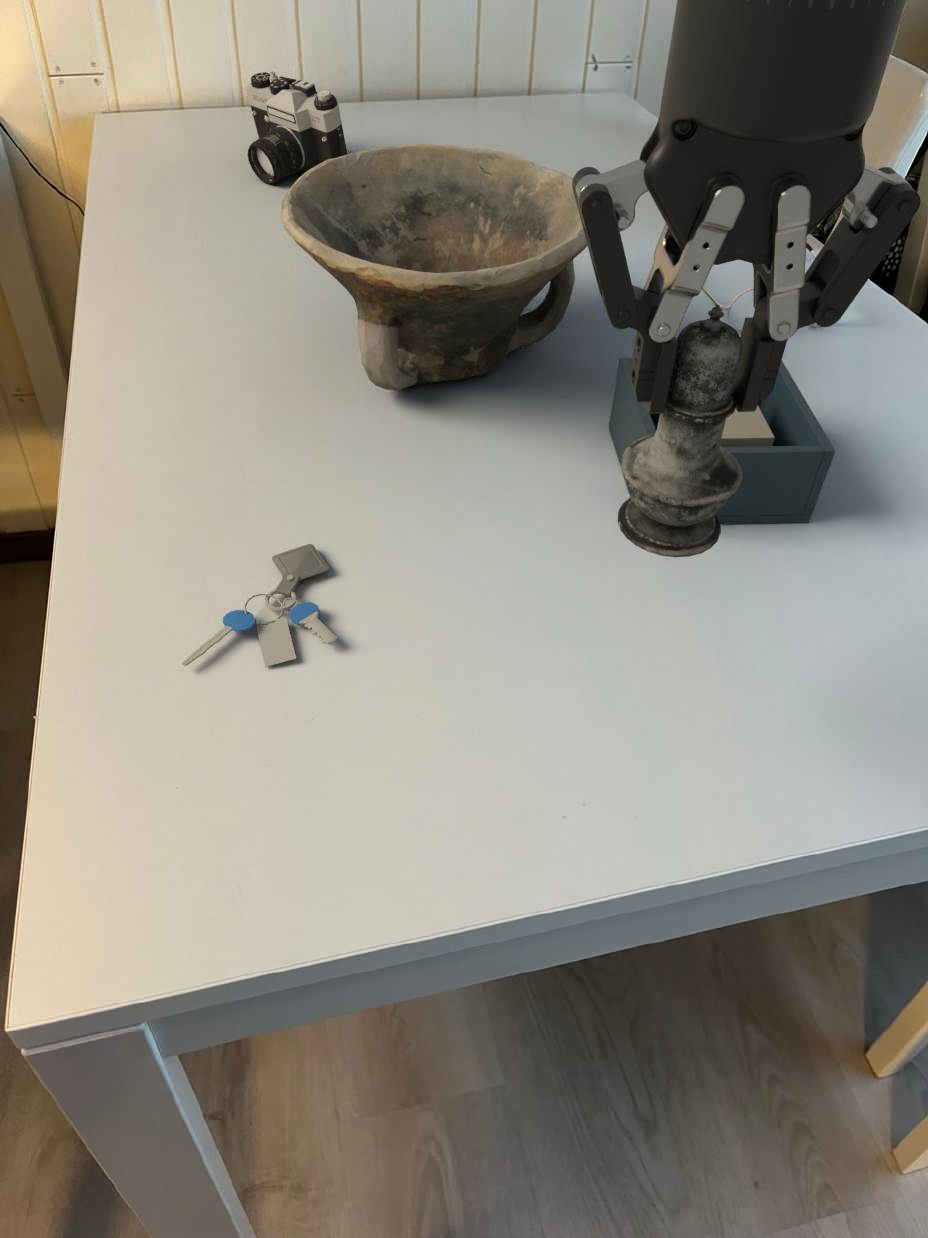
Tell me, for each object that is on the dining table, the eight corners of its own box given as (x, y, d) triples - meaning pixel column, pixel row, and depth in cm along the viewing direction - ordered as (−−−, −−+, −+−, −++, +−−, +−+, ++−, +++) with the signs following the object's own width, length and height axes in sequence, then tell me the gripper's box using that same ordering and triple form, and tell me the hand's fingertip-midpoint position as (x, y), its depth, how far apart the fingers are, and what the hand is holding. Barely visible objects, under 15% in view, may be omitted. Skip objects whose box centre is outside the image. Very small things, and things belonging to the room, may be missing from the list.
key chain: (289, 541, 71) (288, 532, 70) (389, 572, 69) (389, 564, 68) (181, 668, 62) (178, 660, 61) (292, 709, 60) (291, 700, 59)
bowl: (442, 475, 78) (446, 302, 67) (238, 355, 90) (214, 192, 79) (633, 357, 92) (662, 199, 82) (435, 267, 104) (437, 119, 94)
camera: (225, 175, 124) (201, 95, 116) (285, 138, 128) (266, 59, 120) (302, 207, 117) (282, 125, 109) (362, 167, 122) (348, 86, 114)
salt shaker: (607, 486, 51) (642, 271, 43) (717, 490, 51) (773, 275, 43) (616, 559, 47) (656, 336, 39) (735, 563, 47) (802, 342, 39)
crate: (759, 425, 84) (779, 355, 80) (809, 523, 75) (836, 451, 70) (607, 426, 83) (619, 357, 79) (639, 526, 74) (654, 453, 69)
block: (735, 439, 81) (749, 388, 78) (758, 489, 76) (775, 437, 73) (654, 440, 81) (665, 388, 77) (673, 491, 76) (685, 438, 72)
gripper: (608, -17, 29) (555, 454, 41) (1056, -12, 30) (874, 447, 42) (571, -68, 34) (534, 363, 46) (953, -62, 35) (818, 359, 47)
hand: (696, 401), depth 44 cm, fingers closed on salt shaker, 3 cm apart
